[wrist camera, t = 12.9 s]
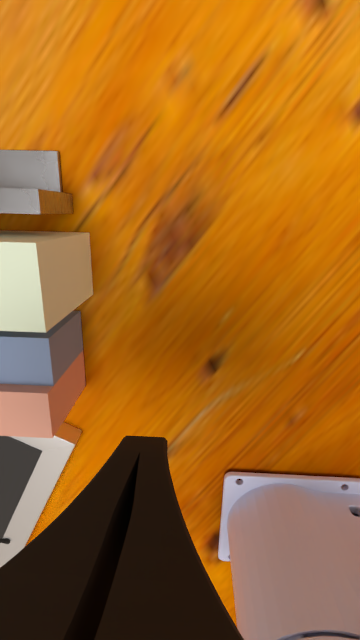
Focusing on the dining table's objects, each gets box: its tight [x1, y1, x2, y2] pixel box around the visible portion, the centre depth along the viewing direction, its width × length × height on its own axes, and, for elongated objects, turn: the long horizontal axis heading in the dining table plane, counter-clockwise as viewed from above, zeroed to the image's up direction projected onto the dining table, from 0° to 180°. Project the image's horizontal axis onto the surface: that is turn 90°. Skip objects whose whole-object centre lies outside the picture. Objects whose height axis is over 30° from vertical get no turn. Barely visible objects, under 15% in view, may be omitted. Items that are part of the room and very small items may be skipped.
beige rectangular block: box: [0, 230, 93, 333], centre depth 16 cm, size 6×4×6 cm, turn 89°
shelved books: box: [0, 311, 86, 438], centre depth 18 cm, size 6×5×5 cm
